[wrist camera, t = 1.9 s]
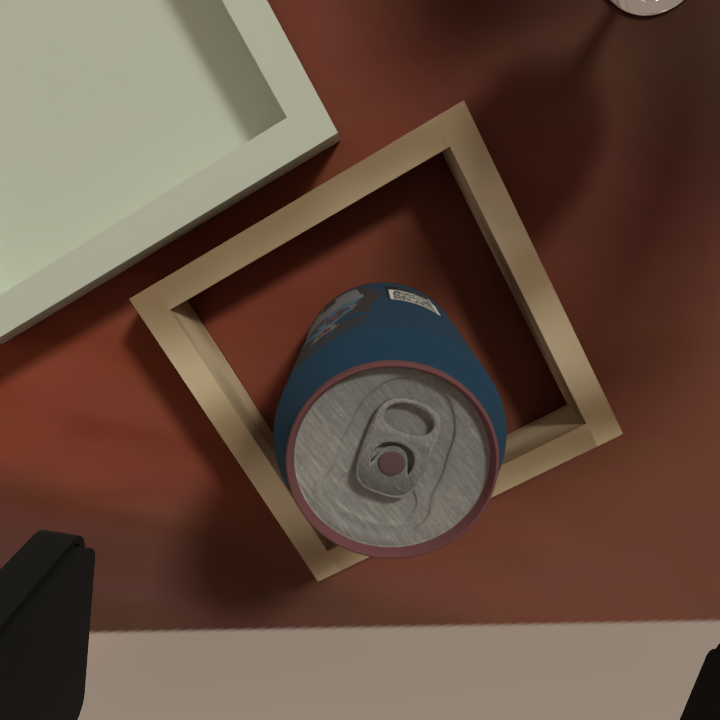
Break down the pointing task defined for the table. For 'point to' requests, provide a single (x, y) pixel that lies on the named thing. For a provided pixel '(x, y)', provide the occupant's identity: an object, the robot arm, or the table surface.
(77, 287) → the sage dish
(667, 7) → the wineglass
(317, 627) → the table surface
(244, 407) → the oak frame
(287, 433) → the soda can
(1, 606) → the robot arm
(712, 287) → the table surface
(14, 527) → the table surface
